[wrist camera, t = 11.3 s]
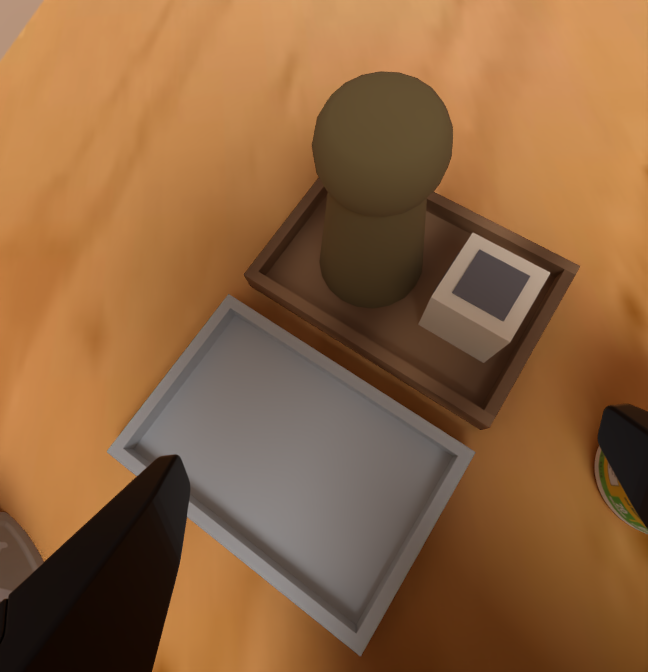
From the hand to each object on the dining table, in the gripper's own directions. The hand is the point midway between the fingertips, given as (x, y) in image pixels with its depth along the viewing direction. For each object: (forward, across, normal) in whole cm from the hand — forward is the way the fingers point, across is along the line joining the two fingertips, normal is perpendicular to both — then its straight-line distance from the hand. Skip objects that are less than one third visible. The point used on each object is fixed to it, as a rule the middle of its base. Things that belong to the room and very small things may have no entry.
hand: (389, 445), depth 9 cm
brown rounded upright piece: (+17, -2, +2) cm, 17 cm away
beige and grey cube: (+14, -6, +4) cm, 16 cm away
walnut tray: (+16, -4, +3) cm, 17 cm away
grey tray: (+10, +4, +9) cm, 14 cm away
